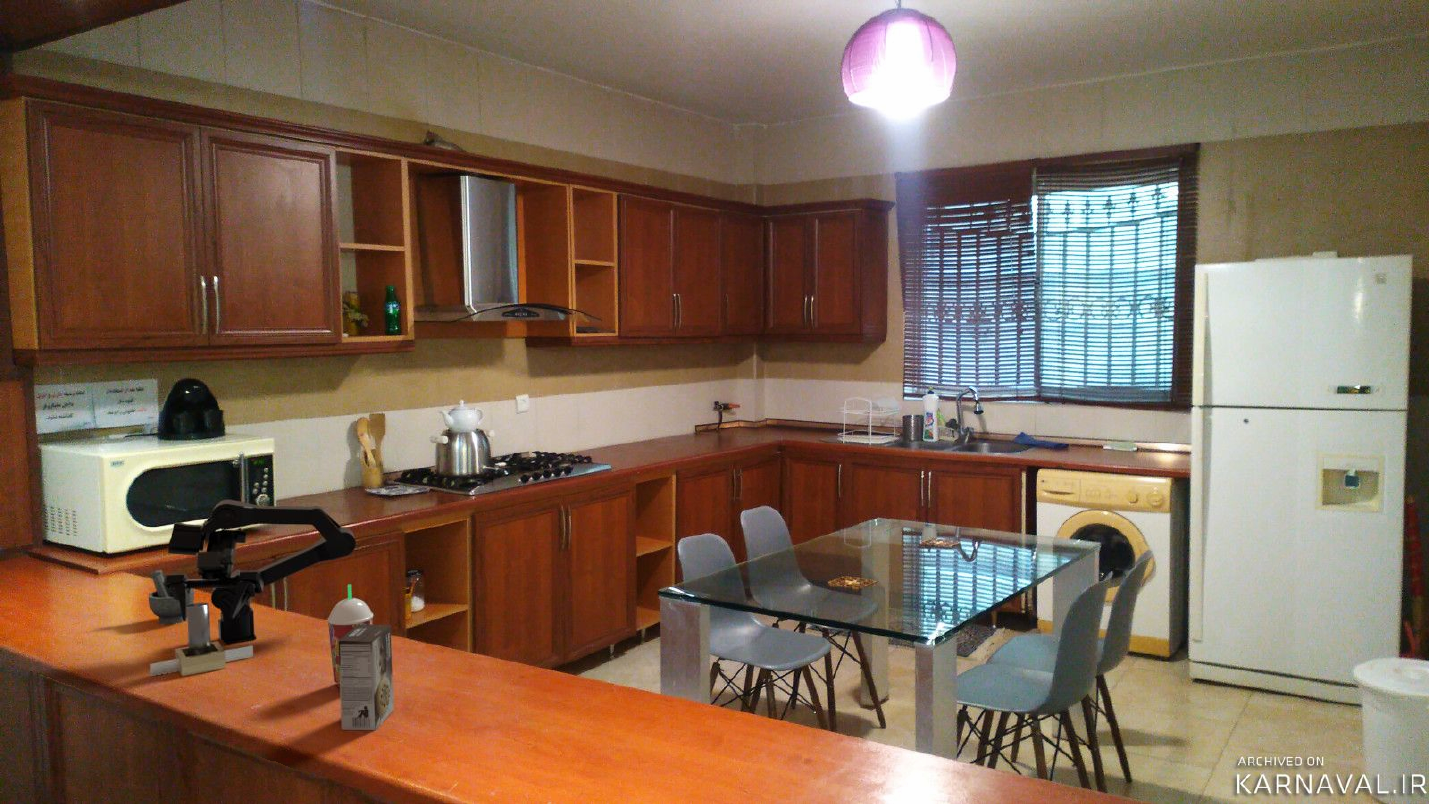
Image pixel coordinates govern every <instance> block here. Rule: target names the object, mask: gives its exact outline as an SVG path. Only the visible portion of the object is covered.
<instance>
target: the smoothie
mask: <svg viewBox="0 0 1429 804" xmlns="http://www.w3.org/2000/svg"><path fill="white" fill-rule="evenodd" d="M373 619H374V613H373V612H372V611H371V609H370V606H368V604H367V603H366V602H365V601H364V600H361V599H359V598H356V597H352V584H347V598H345V599H342V600H340V601H338V603H336V604H335V606H334V607H333V608H332V610H331V612H330V615H329V616H328V617H327V623H328V624H327V625H328V633H329V634H328V635H329V636H328V637H329V643H330V652H331V662H332V671H333V681H334V682H335V684H336V685H337V688H339V689H340V670H339V645H338V641H339V640H340V639H341V638H342V637H344V636H345V635H346V634H347V633H348V632H350V631H351V630H352V629H353V628H354V627H356V626H357V625H374V620H373Z"/></svg>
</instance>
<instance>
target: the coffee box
mask: <svg viewBox="0 0 1429 804" xmlns="http://www.w3.org/2000/svg"><path fill="white" fill-rule="evenodd" d="M391 627H392V626H391V625H387V624H385V625H379V624H373V625H357V626H356V627H354V628H353V629H352V630H351V631H350V632H348V633H347V634H346V635H345V636H344V637H342V638H341V639H340V640H339V641H338V645H339V670H340V688H339V692H340V711H341V712H340V715H341V718H340V719H341V730H343V731H345V730H347V731H377V730H378V728H379V727H380V726H381V725H382V724H383V723H384V721H385V720H387V718H388V717H389V716H390V714H392V712H393V711H394V710H395V704H394V703H395V702H394V699H395V698H394V697H395V696H394V679H393V677H394V675H393V655H392V654H393V653H392V652H393V651H392V631H391Z"/></svg>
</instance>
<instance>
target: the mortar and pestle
mask: <svg viewBox="0 0 1429 804" xmlns="http://www.w3.org/2000/svg"><path fill="white" fill-rule="evenodd" d="M163 574H164V572H163V570H162V569H157V570H154V571H152V572H150V573H149V576H150V578H151V579H152V582H153V585H154V588H155V591H154V592H151V593H149V594H148V604H149V608H150V610H151V611H152V614H154V615H155V616H157V617H158V625H161V624H162V626H169V625H176V623H177V624H180V623H181V622H182V623H184V622H183V618H182V613H181V607H180V602H179V600H175V599H174V598H172V597H169V596H168V594H167V592H166V589H165V587H164V585H163V583H164V579H165V577H164V575H163ZM189 596H190V603H189V605H190V604H194V602H195V601H194V600H195V592H194V588H193V589H191V590H190V594H189Z"/></svg>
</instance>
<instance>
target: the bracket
mask: <svg viewBox="0 0 1429 804" xmlns="http://www.w3.org/2000/svg"><path fill="white" fill-rule="evenodd" d="M253 646H254V645H253V644H250V645H243V646H239V647H233V648H229V649H224V647H222V646H221V644H220V642H219V641H213V642H211V653H206V654H200V655H195V656H190V657H189V646H186V647H178V648H174V655H175V658H174V659H170V660H169V659H168V660H164V661H158V662H154V663H152V662H151V663H149V667H150V668H149V670H150V677H151V676H153V677H156V675H158V676H162V675H161V674H163V675H168V674H173V673H176V672H177V671H178V672H179V674H180V675H181V677H187V676H191V675H197V674H202V673H206V672H208V673H209V672H212V670H213V671H217V670H222V669H226V668H227V666H226V663H229V662H235V661H240V660H244V659H245V660H246V659H250V658H253V657H254V647H253ZM172 672H173V673H172ZM167 673H168V674H167Z"/></svg>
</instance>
